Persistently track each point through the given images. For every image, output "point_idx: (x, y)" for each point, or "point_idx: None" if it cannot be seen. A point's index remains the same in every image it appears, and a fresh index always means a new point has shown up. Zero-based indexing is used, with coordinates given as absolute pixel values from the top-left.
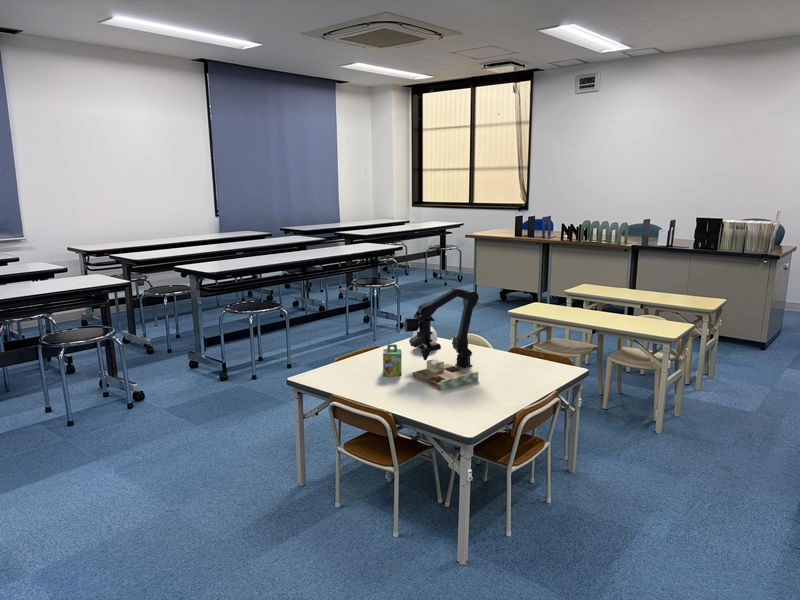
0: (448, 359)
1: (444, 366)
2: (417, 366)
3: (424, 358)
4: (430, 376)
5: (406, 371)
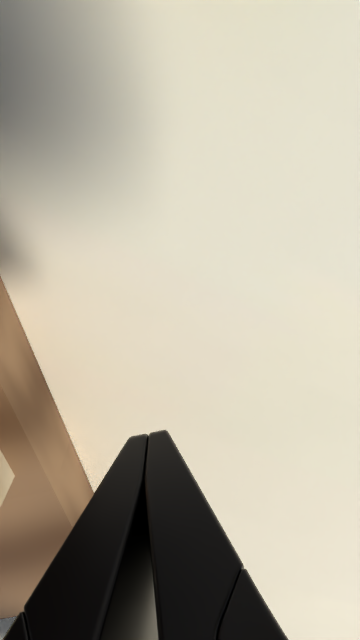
0: (327, 601)
1: (14, 553)
2: (344, 310)
3: (123, 466)
4: None
5: (241, 24)
